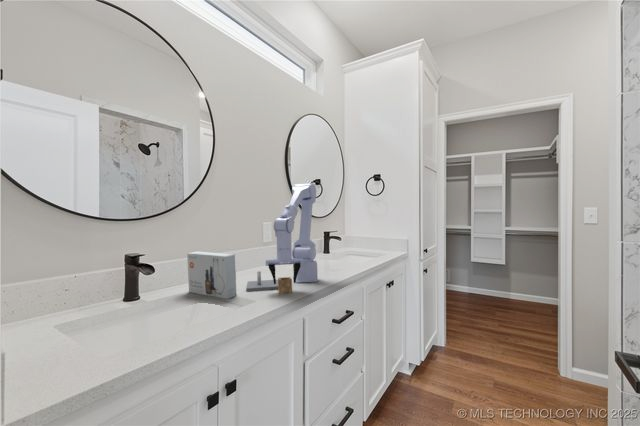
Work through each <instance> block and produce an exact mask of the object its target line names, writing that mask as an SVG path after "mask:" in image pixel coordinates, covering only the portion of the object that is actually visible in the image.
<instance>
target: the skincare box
mask: <svg viewBox="0 0 640 426" xmlns="http://www.w3.org/2000/svg"><path fill="white" fill-rule="evenodd" d="M186 254H187V275H188V276H187V277H188V292H189V293H193V294H198V295H203V296H209V297H215V298H220V299H226V300H227V299H231V298H233V297H236V296H237V294H238V293H237V274H236V254H234V253H224V252H210V251H193V252H187V253H186Z"/></svg>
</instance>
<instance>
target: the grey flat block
mask: <svg viewBox="0 0 640 426" xmlns="http://www.w3.org/2000/svg"><path fill="white" fill-rule="evenodd" d="M256 276H257V279H256V280H249V281H247V282H246V283H247V284H246V287H245V288H246V289H245V291H246V293H247V292H259V291H274V290H278V279H276V284H274V280H273V279H266V280H264V279H263V280H262V272H261V270H257V272H256Z"/></svg>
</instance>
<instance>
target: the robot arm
mask: <svg viewBox="0 0 640 426" xmlns="http://www.w3.org/2000/svg"><path fill="white" fill-rule="evenodd" d="M291 188H292V189H291V194H292V197H291V199H290V202H289V203H288V204H286V205H285V206H284V208H283V210H282V212H281V214H280V216H279V217H278V218H276V219H275V220H274V222H273V230H274V233H275V234H274V235H275V237H276V258H275V259H265V267H268V269H269V271H270V273H271V276H272V280H274V284H276V280H277V277H276V266H281V265H292V266H293V268H292V269H293V276H292V277H293V278H292V279H293V280H292V283H294V284H296V283H297V284H298V283H312V282H314V283H315V282H318V281H319V280H318V262H317V260H316V259H315V258H316V257H317V256H316V255H317V250H316V243H315V242H314V241H312V239H311V230H312V229H311V228H312V219H313V218H312V214H313V204H314V203H316V199H317V189H316V185H315V184H314V182H311V183H294V184H293V185H292V187H291ZM299 206H301V209H300V210H301V211H300V223H299V224H300V225H299V235H298V236H299V237H298V239H297V240H296V241H294V242H293V246H292V232H293V231H294V229H295V219H296V217H297V215H298V213H299V210H298V207H299Z"/></svg>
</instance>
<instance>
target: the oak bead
mask: <svg viewBox="0 0 640 426" xmlns="http://www.w3.org/2000/svg"><path fill="white" fill-rule="evenodd" d="M292 279H293V278H292V276H289V277H278V278H277V280H278V289H277V290H278V294H279V295H281V293H282V294H292V293H293V280H292Z"/></svg>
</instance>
